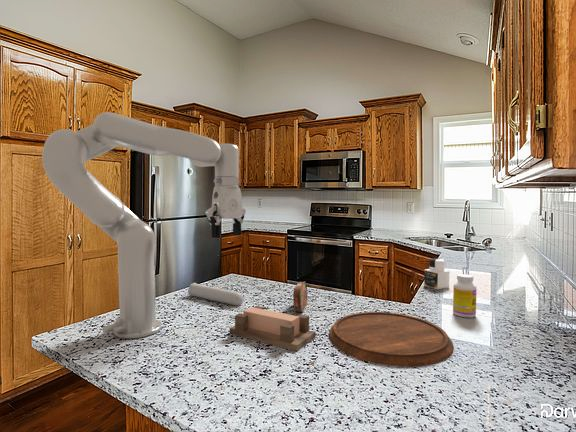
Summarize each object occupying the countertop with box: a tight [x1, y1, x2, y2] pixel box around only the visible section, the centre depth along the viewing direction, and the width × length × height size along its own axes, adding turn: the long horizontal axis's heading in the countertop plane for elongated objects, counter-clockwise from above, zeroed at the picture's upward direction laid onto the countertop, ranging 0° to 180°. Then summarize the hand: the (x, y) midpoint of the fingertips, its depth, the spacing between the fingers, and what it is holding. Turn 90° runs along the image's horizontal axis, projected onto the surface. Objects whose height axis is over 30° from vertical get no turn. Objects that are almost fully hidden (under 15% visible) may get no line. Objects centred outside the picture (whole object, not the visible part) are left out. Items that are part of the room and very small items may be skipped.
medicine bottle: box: [423, 257, 450, 290], centre depth 146 cm, size 7×7×12 cm
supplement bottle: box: [452, 273, 477, 319], centre depth 111 cm, size 7×7×13 cm
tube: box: [187, 282, 245, 307], centre depth 128 cm, size 5×5×25 cm
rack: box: [229, 305, 317, 352], centre depth 95 cm, size 10×22×6 cm, turn 58°
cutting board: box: [328, 311, 455, 368], centre depth 93 cm, size 32×32×3 cm
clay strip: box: [243, 306, 299, 336], centre depth 95 cm, size 4×16×4 cm, turn 58°
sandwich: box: [292, 281, 308, 313], centre depth 119 cm, size 15×3×8 cm, turn 168°
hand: (226, 236), depth 111 cm, fingers open, 9 cm apart
